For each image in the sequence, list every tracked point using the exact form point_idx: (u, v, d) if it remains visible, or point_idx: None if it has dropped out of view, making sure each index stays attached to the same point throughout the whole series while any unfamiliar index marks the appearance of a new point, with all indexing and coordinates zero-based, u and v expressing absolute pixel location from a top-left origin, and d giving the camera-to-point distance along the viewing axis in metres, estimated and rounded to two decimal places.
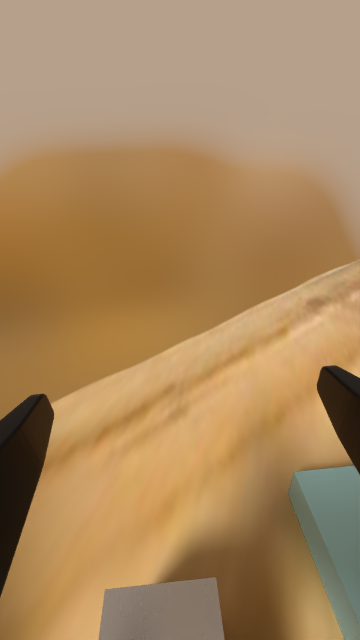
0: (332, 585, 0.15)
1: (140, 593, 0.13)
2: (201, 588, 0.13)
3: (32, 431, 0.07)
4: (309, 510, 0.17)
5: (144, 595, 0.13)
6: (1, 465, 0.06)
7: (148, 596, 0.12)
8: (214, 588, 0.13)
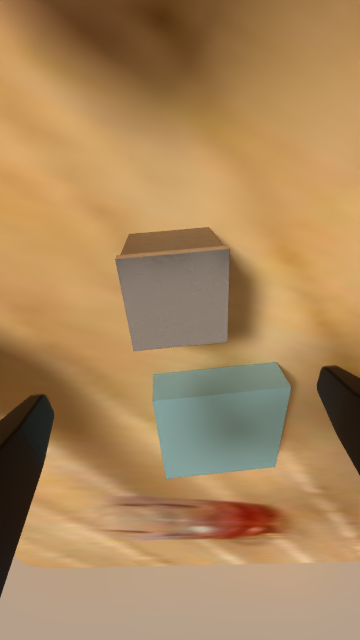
0: (216, 380, 0.22)
1: (223, 283, 0.13)
2: (221, 331, 0.15)
3: (32, 431, 0.07)
4: (260, 388, 0.21)
5: (221, 287, 0.13)
6: (1, 465, 0.06)
7: (220, 290, 0.14)
8: (220, 340, 0.15)
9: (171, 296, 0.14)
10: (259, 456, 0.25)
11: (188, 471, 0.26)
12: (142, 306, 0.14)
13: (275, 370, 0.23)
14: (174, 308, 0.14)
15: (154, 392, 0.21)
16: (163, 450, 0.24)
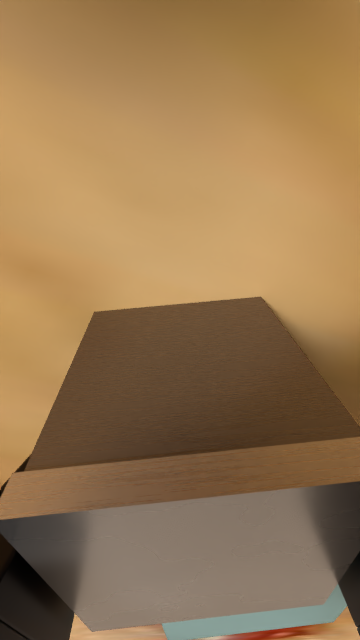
0: None
1: (354, 536, 0.04)
2: (316, 595, 0.06)
3: None
4: None
5: (346, 543, 0.04)
6: None
7: (340, 547, 0.05)
8: (308, 604, 0.06)
9: (191, 565, 0.04)
10: (313, 616, 0.16)
11: (202, 634, 0.17)
12: (105, 585, 0.05)
13: None
14: (198, 581, 0.05)
15: None
16: None
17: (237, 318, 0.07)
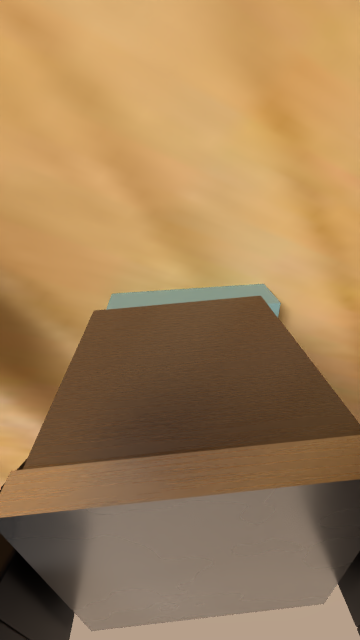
0: (188, 298, 0.18)
1: (354, 535, 0.04)
2: (316, 594, 0.06)
3: None
4: None
5: (346, 542, 0.04)
6: None
7: (340, 546, 0.04)
8: (308, 603, 0.06)
9: (191, 564, 0.04)
10: None
11: None
12: (104, 584, 0.05)
13: (262, 290, 0.18)
14: (198, 579, 0.05)
15: (108, 307, 0.17)
16: None
17: (237, 316, 0.07)
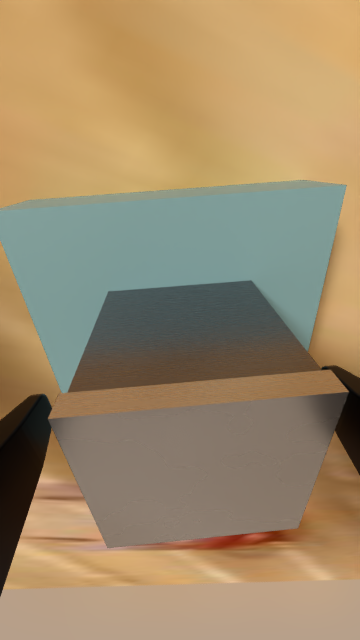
0: (165, 193, 0.09)
1: (314, 450, 0.06)
2: (290, 516, 0.07)
3: (32, 431, 0.07)
4: (268, 190, 0.08)
5: (309, 457, 0.06)
6: (1, 465, 0.06)
7: (305, 462, 0.06)
8: (284, 527, 0.07)
9: (191, 474, 0.06)
10: None
11: None
12: (123, 492, 0.06)
13: (301, 181, 0.10)
14: (196, 492, 0.06)
15: (7, 207, 0.09)
16: (58, 371, 0.11)
17: (230, 296, 0.09)
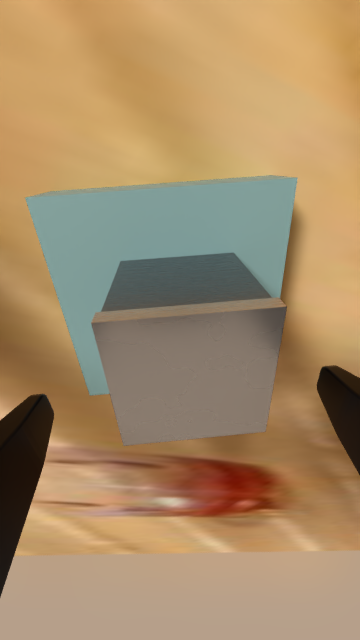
0: (159, 185, 0.12)
1: (269, 356, 0.08)
2: (259, 419, 0.10)
3: (32, 431, 0.07)
4: (238, 181, 0.11)
5: (266, 362, 0.08)
6: (1, 465, 0.06)
7: (264, 366, 0.08)
8: (255, 430, 0.10)
9: (184, 375, 0.08)
10: None
11: None
12: (137, 389, 0.09)
13: (268, 176, 0.13)
14: (188, 391, 0.09)
15: (37, 195, 0.11)
16: (73, 332, 0.14)
17: (216, 262, 0.11)
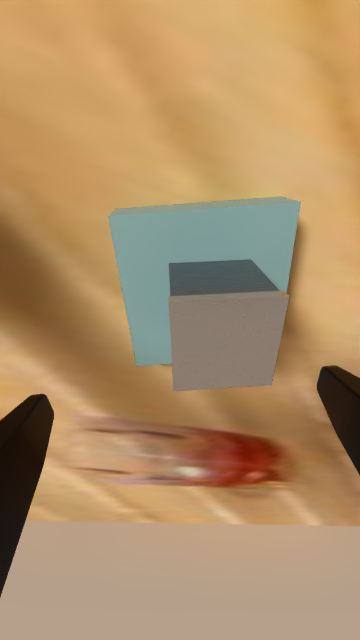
0: (199, 205, 0.16)
1: (277, 329, 0.13)
2: (267, 374, 0.14)
3: (32, 431, 0.07)
4: (258, 204, 0.15)
5: (274, 332, 0.13)
6: (1, 465, 0.06)
7: (273, 335, 0.13)
8: (264, 383, 0.14)
9: (221, 340, 0.13)
10: None
11: (164, 355, 0.20)
12: (189, 348, 0.13)
13: (278, 198, 0.17)
14: (222, 351, 0.13)
15: (113, 213, 0.16)
16: (129, 314, 0.18)
17: (239, 266, 0.16)
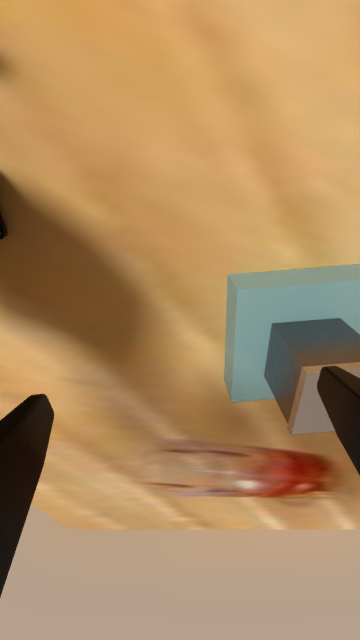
0: (303, 275, 0.20)
1: None
2: None
3: (32, 431, 0.07)
4: (358, 278, 0.19)
5: None
6: (1, 465, 0.06)
7: None
8: None
9: None
10: None
11: (257, 393, 0.23)
12: (313, 404, 0.16)
13: None
14: None
15: (236, 285, 0.19)
16: (235, 362, 0.21)
17: (335, 327, 0.19)
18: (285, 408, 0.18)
